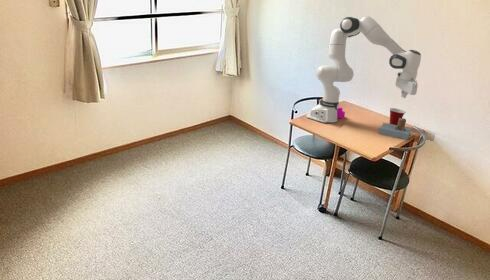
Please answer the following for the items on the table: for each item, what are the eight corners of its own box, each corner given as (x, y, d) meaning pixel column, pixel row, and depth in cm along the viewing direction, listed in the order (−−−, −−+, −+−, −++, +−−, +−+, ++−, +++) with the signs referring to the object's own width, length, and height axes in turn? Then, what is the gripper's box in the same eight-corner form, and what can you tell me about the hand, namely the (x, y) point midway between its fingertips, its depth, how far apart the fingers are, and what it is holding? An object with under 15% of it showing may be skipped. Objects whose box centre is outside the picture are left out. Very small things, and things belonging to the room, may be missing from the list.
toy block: (344, 117, 286) (345, 108, 283) (336, 118, 284) (338, 108, 281) (333, 111, 299) (334, 102, 296) (326, 111, 297) (327, 102, 294)
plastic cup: (405, 127, 274) (409, 111, 270) (393, 129, 270) (397, 112, 265) (394, 122, 283) (398, 107, 279) (382, 123, 279) (386, 107, 275)
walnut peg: (396, 133, 257) (399, 119, 254) (395, 131, 261) (398, 117, 257) (402, 134, 256) (406, 120, 253) (402, 132, 260) (405, 118, 257)
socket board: (378, 133, 258) (379, 127, 257) (382, 128, 270) (383, 122, 269) (407, 140, 251) (408, 134, 249) (409, 134, 262) (411, 128, 261)
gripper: (422, 81, 237) (416, 102, 243) (405, 72, 256) (400, 92, 261) (412, 80, 236) (407, 102, 242) (396, 72, 255) (391, 92, 260)
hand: (403, 97), depth 252 cm, fingers closed
